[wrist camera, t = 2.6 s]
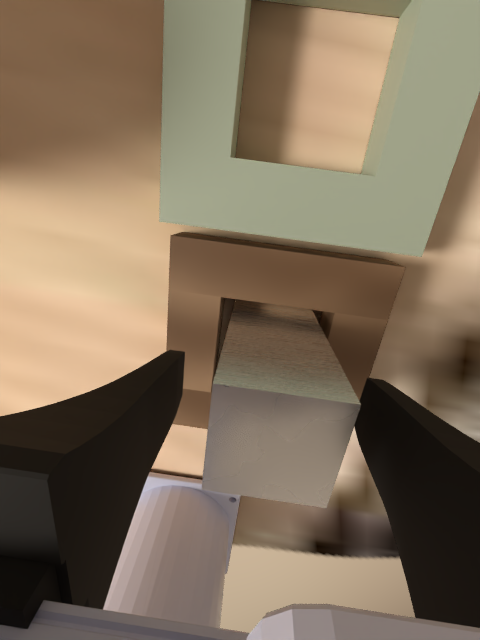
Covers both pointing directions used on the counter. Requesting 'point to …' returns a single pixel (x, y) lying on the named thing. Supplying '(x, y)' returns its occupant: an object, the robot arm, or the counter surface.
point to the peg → (277, 408)
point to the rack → (310, 183)
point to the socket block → (273, 288)
